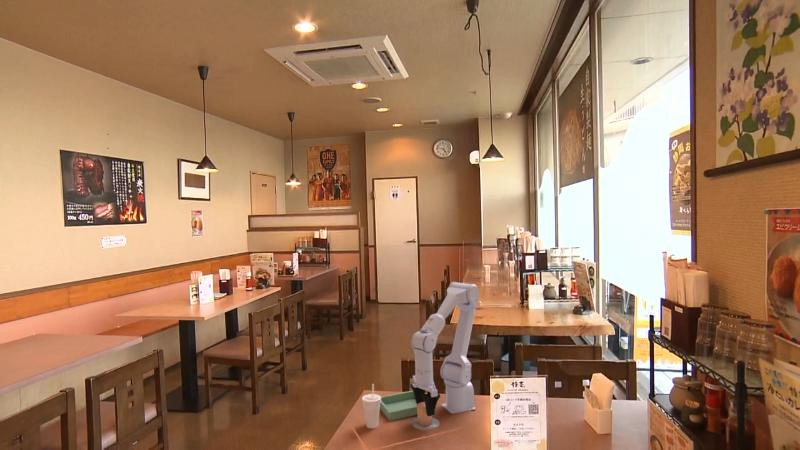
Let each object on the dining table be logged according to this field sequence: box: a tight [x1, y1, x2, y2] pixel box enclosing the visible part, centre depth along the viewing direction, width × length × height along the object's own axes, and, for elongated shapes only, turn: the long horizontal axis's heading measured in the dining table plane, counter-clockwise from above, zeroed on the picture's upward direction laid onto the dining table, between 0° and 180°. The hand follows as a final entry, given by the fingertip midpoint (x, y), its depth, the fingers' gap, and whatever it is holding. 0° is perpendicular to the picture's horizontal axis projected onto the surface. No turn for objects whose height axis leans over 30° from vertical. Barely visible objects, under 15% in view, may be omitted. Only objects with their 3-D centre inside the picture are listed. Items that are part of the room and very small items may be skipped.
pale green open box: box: [380, 390, 417, 422], centre depth 152 cm, size 16×13×3 cm
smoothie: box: [361, 383, 382, 429], centre depth 140 cm, size 6×6×14 cm
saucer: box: [411, 417, 440, 431], centre depth 141 cm, size 9×9×1 cm
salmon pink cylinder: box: [416, 402, 433, 427], centre depth 141 cm, size 5×5×6 cm
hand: (425, 410), depth 141 cm, fingers open, 7 cm apart
